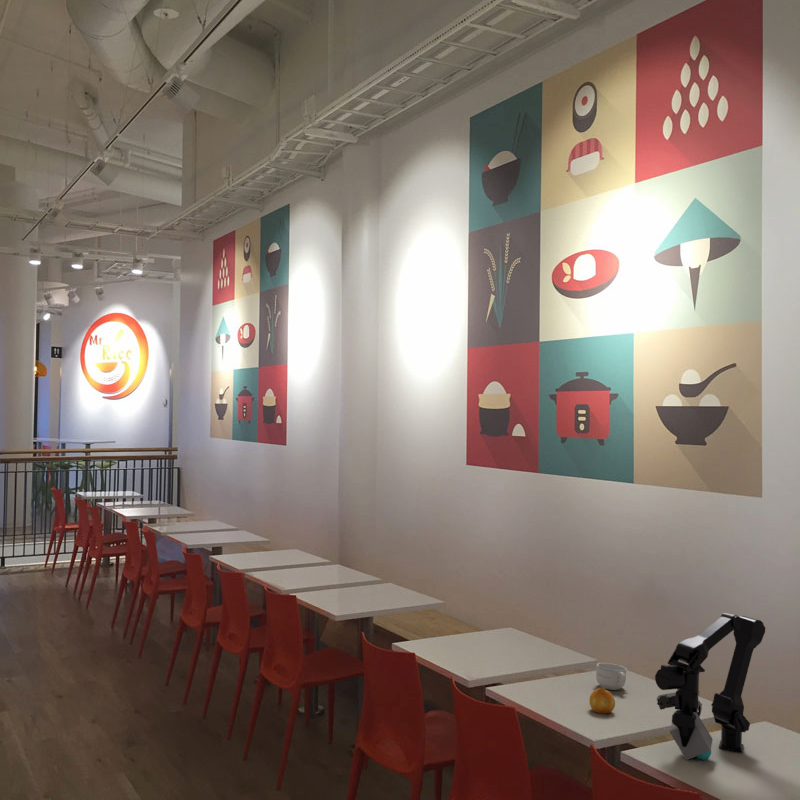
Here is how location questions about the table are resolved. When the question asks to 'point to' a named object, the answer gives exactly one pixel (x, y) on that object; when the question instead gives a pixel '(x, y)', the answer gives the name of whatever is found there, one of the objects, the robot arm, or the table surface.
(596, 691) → the fruit
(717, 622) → the robot arm
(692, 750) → the gray wedge-topped block
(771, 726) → the table surface
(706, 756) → the ball
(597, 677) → the teacup
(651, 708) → the table surface
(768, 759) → the table surface
